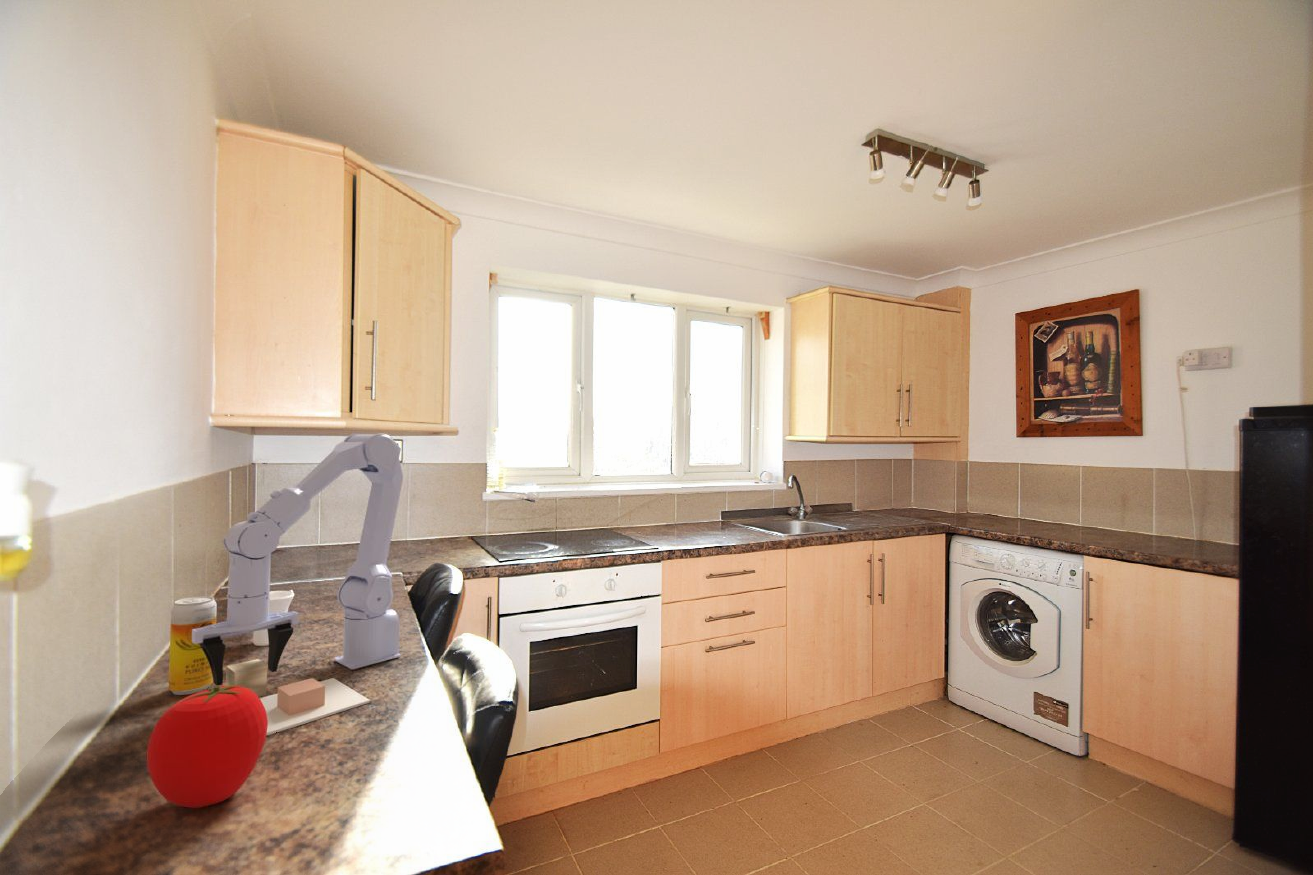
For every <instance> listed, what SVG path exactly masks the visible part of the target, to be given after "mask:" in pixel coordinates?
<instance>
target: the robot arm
mask: <svg viewBox="0 0 1313 875" xmlns="http://www.w3.org/2000/svg"><path fill="white" fill-rule="evenodd" d="M401 450H402V449H401V447H400V446H399V445H398V443H397V442H396V440H395V439H394V438H393V437H392V436H390V435H389V434H387V433H382V432H380V433H376V434H375V433H374V434H373V433H372V434H371V433H369V434H366V433H364V434H362V433H352V434H350V435H348V436H347V437H345V439H344V440H343V441H341V442H339V443H337V444H336V445H335V447H334V448H333V450H332V451H331V452H330V453H329V454H328V455H327V456H326V457H325V458H324V459H323V460H322V461H321V462H319V464H318V465H316V467H314V469H313V470H311V471H310V472H309V473H308V474H307V475H306V476H305V477H304V478H302V480H301V481H300V482H299V483H297V485H296V486H294V487H283V488H282V489H280V490H278V489H277V490H276V489H275V490H274V491H272V493H270V494H269V496H270V498H269V499H268V500H267V501H266V502H265V503H264V504H263V505H262V506H261V507H259V508H258V509H257V510H256V511H254V512H252V511H251V512H250V513H248V514H247V515H246V518H247V520H244V521H241V522H237V523H236V524H234V525H232V527H230V528H229V529H228V530H227V533H226V534H227V535H225V538H223V539H222V544H223V547H224V549H225V550H226V551H227V552H228V553H229V565H228V581H227V582H228V583H227V609H226V610H227V611H226V621H222V622H218V623H216V624H214V625H210V626H206V627H202V628H197V629H192V642H193V643H194V644H199V645H200V647H201V648H202V650H203V652H204V653H205V655H206V658H207V660H208V662H209V665H210V668H211V671H212V675H213V682H212V684H214V685H215V686H222V685H223V682H224V667H223V666H224V665H223V664H224V658H225V650H226V646H227V645H226V644H224V643H223V639H224V638H228V637H233V636H238V635H244V634H249V633H253V632H254V631H260V630H265V629H267V630H268V640H269V645H268V656H267V671H270V672H271V673H275V672H277V671H278V667H279V664H280V661H281V656H282V655H283V652H284V650H285V648H286V645H287V644H288V642H289V640H290V639H291V637H292V636H293V634H294V627H292V626H294V625H298V624H299V614H300V613H299V612H297V611H295V610H294V611H288V612H286V613H277V614H269V597H270V589H271V568H272V567H271V559H272V558H271V557H272V556H271V555H272V553H273V552H274V551H276V550H277V548H278V546H279V543H280V539H281V537H282V536H283V535H284V534H285V533H286V532H288V530H289V529H291V528H292V527H293V526H294V525H295V524H296V523H297V522H299V520H300V519H301V518H303V517H304V516H305V515H306V514H307V513H308V512H309V511H310V510H311V500H312V499H313V498H315V497H316V496H317V495H318V494H320V493H321V492H322V491H323V490H324V489H325V488H327V487H328V486H330V484H332V483H333V482H334V481H336V480H337V479H338V478H339V477H340V476H342V475H343V474H344V473H345V472H347V471H353V470H359V471H360V472H362V473H363V474H364V476H365V477H366V478H367V479H368V480H369V481H370V482H371V488H370V492H369V497H368V502H367V506H366V510H365V516H364V520H363V526H362V531H361V535H360V540H359V545H358V550H357V555H356V560H355V563H353V564H352V565H351V566H350V567H349V568H348V569H347V570H346V574H345V578H344V580H343V581H342V583H341V585H339V588H338V591H337V595H336V597H337V601H338V603H339V605H340V606H341V607H343V638H342V640H343V641H342V642H343V643H342V644H343V645H342V655H340V656H335V657H334V658H333V660H334V661H335V662H337V663H339V664H340V665H342V666H344V667H346V668H347V669H349V670H356V669H360V668H363V667H368V666H370V665H375V664H379V663H382V662H386V661H388V660H389V661H390V660H393V659H396V658H400V657H401V653H399V652H400V646H399V645H400V619H399V615H398V613H397V612H396V611H395V610H394V609H393V608H390V607H391V605H392V602H393V600H394V592H393V588H392V587H393V586H392V584H393V583H392V582H393V575H392V573H391V572H390V570H389V568H388V566H387V561H388V557H389V552H390V546H391V542H392V537H393V532H394V527H395V522H396V515H397V511H398V506H399V502H400V501H399V500H400V496H401V490H402V486H403V482H404V475H403V474H404V473H403V470H402V466H401V465H402V464H401V461H400V454H401ZM389 608H390V609H389Z"/></svg>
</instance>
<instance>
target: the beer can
mask: <svg viewBox="0 0 1313 875" xmlns="http://www.w3.org/2000/svg"><path fill="white" fill-rule="evenodd" d="M217 605H218V604H217V602H216V600H215V597H214V596H208V595H203V596H202V595H200V596H192V597H191V596H190V597H183V598H181V599H177V600H175V601H174V604H173V605H172V607H171V609H170V630H169V631H170V632H169V633H170V634H169V636H170V637H169V664H168V668H169V669H168V690H169V691H171V692H172V694H174V695H178V696H179V695H180V696H183V695H185V696H186V695H192V694H195V693H198V692H201V691H204V690H208V686H209V687H211V686H212V684H213V675H212V671H211V668H210V665H209V662H208V660H207V658H206V655H205V653H204V652H203V650H202V648H201V647H200V645H199V644H194V643H193V642H192V629H197V628H202V627H206V626H210V625H214V624H217V613H218V612H217V610H218V609H217V607H218V606H217Z"/></svg>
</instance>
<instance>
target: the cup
mask: <svg viewBox="0 0 1313 875" xmlns="http://www.w3.org/2000/svg"><path fill="white" fill-rule="evenodd" d="M294 597H295V593H294V591H293V589H290V590H271V591H270V597H269V614H277V613H286V612H289V608H290V605H291V602H292V600H293V599H294ZM252 633H253V635H252V636H253V639H252V643H253V644H254V646H258V647H266V646H268V647H269V640H268V630H267V629H265V630H260V631H254V632H252Z"/></svg>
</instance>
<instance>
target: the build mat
mask: <svg viewBox="0 0 1313 875" xmlns="http://www.w3.org/2000/svg"><path fill="white" fill-rule="evenodd" d="M319 682H320V683H321V684H323V685H324V686H325V705H323V706H320V707H317V708H313V709H310V710H307V711H304V712H300V713H297V714H294V715H291V716H289V715H287V714H286V713H285V712H284V711H282V710H281V709H280V708H279V707H277V698H278V692H277V693H275V694H270V695H265V696H262V697H259V698H260V700H261V702H262V704H263V706H264V708H265V710H266V714H267V720H268V727H267V734H266V737H267V736H271V735H273V734H277V733H279V732H283V731H285V730H289V729H292V728H295V727H299V726H301V725H304V724H308V723H310V722H313V721H317V720H320V719H322V718H326V717H327V718H328V717H330V716H333V715H336V714H339V713H342V712H344V711H348V710H352V709H354V708H357V707H360V706H363V705H366V704H369V703H370V702H371V700H370V699H369V698H367V697H365V696H364V695H362V694H361V693H359V692H357V691H356V690H354V689H352V688H350V686H347V685H345V684H344V683H342V682H340V681H339V680H337V679H336V678H334V677H332V678H329V679H325V680H321V681H319ZM276 732H277V733H276Z"/></svg>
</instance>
